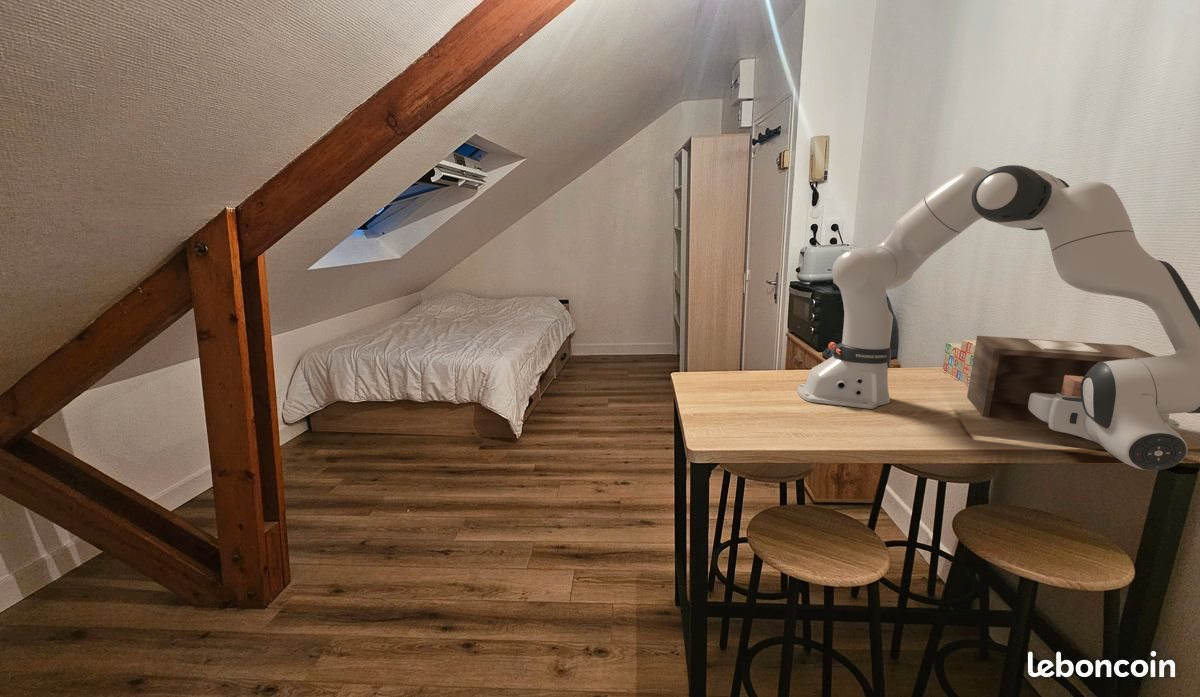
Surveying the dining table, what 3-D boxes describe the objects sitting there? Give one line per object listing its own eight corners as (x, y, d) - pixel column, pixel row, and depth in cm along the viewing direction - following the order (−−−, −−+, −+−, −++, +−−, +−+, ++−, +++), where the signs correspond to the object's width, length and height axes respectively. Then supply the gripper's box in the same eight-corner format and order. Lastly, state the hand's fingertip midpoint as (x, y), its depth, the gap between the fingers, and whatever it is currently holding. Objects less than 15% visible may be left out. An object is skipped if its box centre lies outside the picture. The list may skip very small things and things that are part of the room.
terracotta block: (1065, 427, 110) (1074, 381, 107) (1055, 419, 114) (1064, 375, 112) (1095, 430, 108) (1106, 383, 105) (1085, 422, 112) (1094, 377, 110)
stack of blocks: (941, 371, 163) (947, 332, 160) (963, 372, 162) (970, 333, 159) (976, 392, 143) (983, 348, 140) (1002, 393, 142) (1010, 349, 139)
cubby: (981, 420, 122) (994, 347, 118) (966, 400, 136) (977, 334, 132) (1148, 439, 111) (1168, 359, 107) (1113, 416, 124) (1130, 344, 120)
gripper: (1189, 411, 93) (1147, 390, 106) (1046, 398, 101) (1022, 379, 114) (1181, 444, 95) (1140, 419, 107) (1040, 428, 102) (1017, 407, 115)
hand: (1078, 398), depth 110 cm, fingers closed on terracotta block, 5 cm apart
